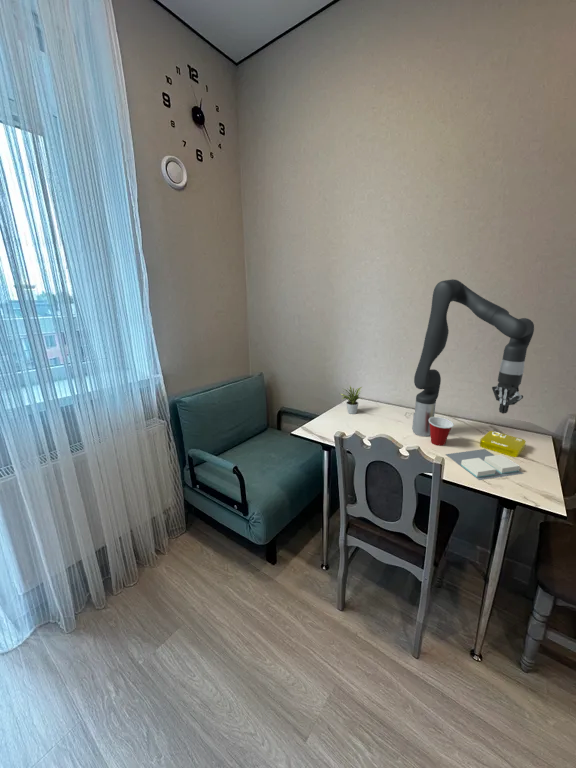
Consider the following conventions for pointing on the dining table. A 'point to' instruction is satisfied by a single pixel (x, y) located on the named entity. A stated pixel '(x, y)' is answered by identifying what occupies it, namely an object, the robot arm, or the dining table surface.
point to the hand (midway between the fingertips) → (502, 412)
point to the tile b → (502, 464)
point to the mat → (481, 454)
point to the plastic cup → (439, 430)
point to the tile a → (478, 467)
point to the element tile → (503, 443)
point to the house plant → (352, 400)
